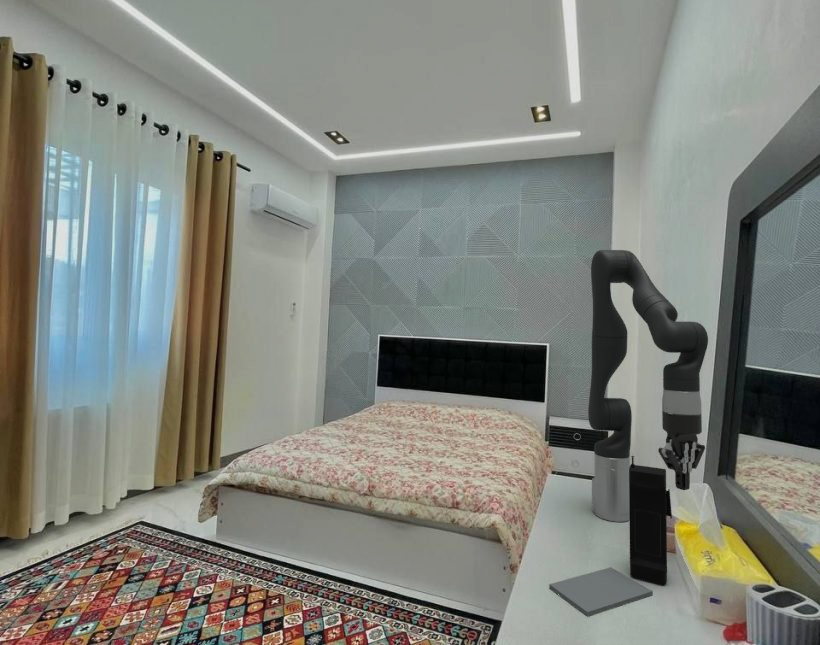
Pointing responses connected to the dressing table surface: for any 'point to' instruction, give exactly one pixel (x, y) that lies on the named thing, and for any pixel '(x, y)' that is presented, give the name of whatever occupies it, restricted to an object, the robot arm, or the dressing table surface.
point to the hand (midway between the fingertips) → (682, 488)
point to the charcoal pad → (600, 591)
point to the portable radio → (648, 523)
